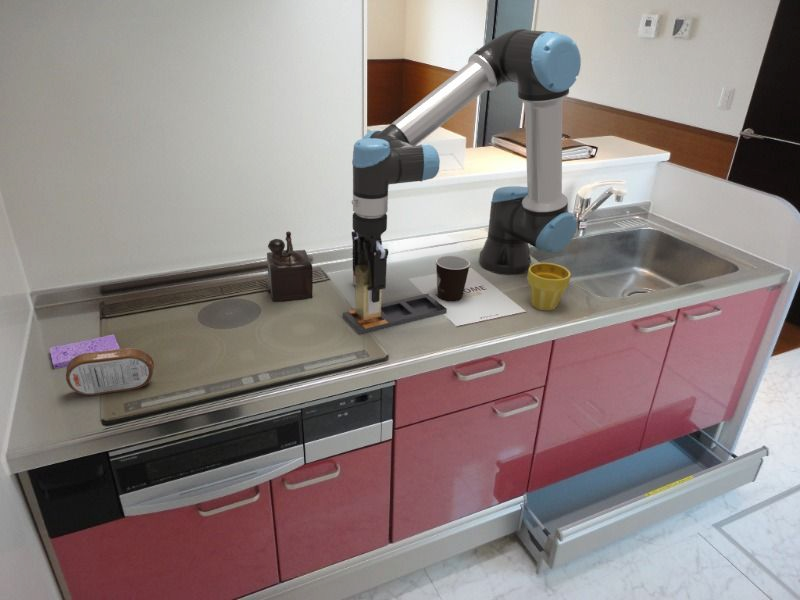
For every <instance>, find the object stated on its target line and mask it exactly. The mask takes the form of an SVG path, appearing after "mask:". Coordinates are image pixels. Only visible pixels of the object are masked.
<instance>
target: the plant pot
mask: <svg viewBox="0 0 800 600" xmlns="http://www.w3.org/2000/svg"><path fill="white" fill-rule="evenodd" d="M570 279H571V271H570V270H569V269H567V267H565V266H562V265H560V264H557V263H552V262H537V263H533V264H530V267H529V269H528V271H527V283H528V284H529V294H530V295H529V296H530V305H531V306H533V307H534V308H535V309H537V310H540V311H541V310H542V311H552V310H555V309H556V308H557V307H558V305H559V302H560V300H561V298H562V295H563V294H564V291H565V290H566V289H568V287H569V285H570Z"/></svg>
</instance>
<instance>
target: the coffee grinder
mask: <svg viewBox="0 0 800 600" xmlns="http://www.w3.org/2000/svg"><path fill="white" fill-rule="evenodd" d="M285 241H286V244H285ZM285 241H284V240H282V239H281V238H273V239H272V240H270V241H268V245H267V248H268V249H269V252H267V253H266V265H267V281H268V283H267V288H266V290H267V291H266V292H267V293H268V294H269V296H270V298H271V300H272V302H290V301H301V300H302V301H303V300H307V299H312V298H313V287H314V286H313V284H314V283H313V265H312V262H311V259H310V257H309V255H308V253H307V251H306V249H298V250H294V247H293V243H292V232H291V231H286V232H285ZM285 248H286V249H285Z"/></svg>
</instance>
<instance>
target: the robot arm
mask: <svg viewBox="0 0 800 600" xmlns="http://www.w3.org/2000/svg"><path fill="white" fill-rule="evenodd" d="M581 63H582V59H581V53H580V50H579V47H578V45H577V43H576V42H575V41H574V40H573V39H572V38H571V37H570V36H568V35H566V34H563V33H559V32H555V31H542V30H541V31H540V30H531V29H530V30H529V29H523V28H517V29H513V30H509V31H506V32H504V33H502V34H500V35H498V36H497V37H495V38H494V39H492V40H490V41H488V42H487V43H486V44H484V45H483V46H482V47H480V48H478V50H476V51H475V52H474V53H472V54H471V55H470V56H469V57H468V59H467V64H465V65H463V67H461V69H459V70H458V71H457V72H455V73H454V74H453V75H452V76H450V77H449V78H447V79H446V80H445V81H443V83H441V84H440V85H439V86H438V87H436V88H435V89H434V90H432V91H431V92H430V93H429V94H427V95H426V96H425V97H423V98H422V99H421V100H420V101H418V102H417V103H416V104H415V105H413V106H412V107H411V108H409V109H408V110H407V111H406V112H404V114H402V115H401V116H399V117H398V118H397V119H395V120H394V121H393V122H392V123H391V124H389V125H388V126H387V127H385V128H384V129H383V130H371V131H368V132H367V133H365V135H364V136H363V137H362V138H361V139H358V140H357V141H355V143H354V144H353V151H352V161H351V163H352V200H351V202H350V203H351V204H352V211H353V213H352V230H353V231H351V240H352V273H353V272H355V266H357V265H363V264H368V272H369V283H370V287H367V290H368V301H367V313H368V314H373V313H377V312H379V299H380V290H381V289H382V290H385V289H386V288H387V265H388V264H387V262H388V261H387V260H388V257H389V249H388V248H383V246H382V245H383V242H382V235H383V233H385V232H387V228H388V215H387V213H388V211H389V210H388V205H389V201H388V200H389V185H397V184H398V185H399V184H404V183H405V184H406V183H414V182H424V181H428V180H432V179H434V178H436V177H437V175H438V173H439V170H440V164H441V163H440V162H441V161H440V157H439V156H440V155H439V152H438V150H437V149H436V148H435V147H434V146H433V145H430V144H420V143H421V142H423V141H424V140H425V139H426V138H428V137H429V136H430V135H431V134H432V133H434V132H435V131H437V129H439V128H440V127H441V126H443V125H444V124H445V123H446V122H448V121H449V120H450V119H451V118H453V117H454V116H455V115H457V114H458V113H459V112H460V111H461V110H463V109H464V108H465V107H467V106H468V105H470V103H471V102H473V101H474V100H476V99H477V98H478V97H479V96H481V95H482V94H483V93H484V92H485V91H494V90H495V89H496V88H497V87H499V86H500V85H502V84H505V83H515V84H517V98H518V100H520V101H521V102H522V103H523V104H524V117H525V123H524V124H525V151H526V152H525V154H526V158H525V159H526V183H527V184H526V185H527V186H521V185H520V186H519V185H516V186H514V185H513V186H512V185H511V186H510V185H509V186H501V187H499V188H497V189H495V190H494V191H493V194H492V198H491V201H490V212H489V221H488V231H487V238H486V240H485V242H484V245H483V247H482V249H481V251H480V253H479V255H478V256H479V257H478V264H479V266H481V268H484V269H485V270H488V271H490V272H493V273H497V274H501V275H502V274H503V275H519V274H523V273H526V272H528V269H529V267H530V266H531V265H532V264H531V263H532V259H531V253H530V247H529V245H530V246H532V247H533V248H536V249H537V250H539V251H543V252H545V253H549V254H555V253H558V252H560V251H561V250H563V249H564V248H565V247H567V246H568V245H569V244H570V242H571V241H572V240H573V238H574V236H575V235H576V232H577V228H578V219H577V217H576V216H575V215H574V214H573V213H572V212H569V208H568V207H569V202H568V197H567V196H566V195H565V194H564V193H563V101H564V99H565V98H566V97H568V95H569V94H570V89H571V87H572V86H573V85H574V84H575V82H576V81H577V77H578V76H579V74H580V71H581ZM370 255H372V256H370Z"/></svg>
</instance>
